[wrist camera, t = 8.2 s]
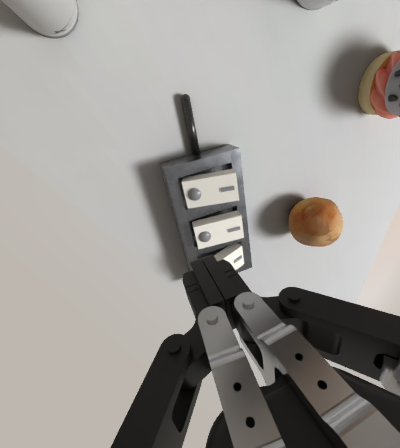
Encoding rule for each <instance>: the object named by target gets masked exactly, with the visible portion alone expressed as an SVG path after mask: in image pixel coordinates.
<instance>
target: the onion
mask: <svg viewBox="0 0 400 448" xmlns="http://www.w3.org/2000/svg"><path fill="white" fill-rule="evenodd" d="M288 225H289V230H290V232H291V234H292V235H293V237H294V238H295V239H296V240H297V241H298V242H300V243H302V244H304V245H308V246H319V247H320V246H327V245H330V244H332V243H333V242H335V241H336V240H337V239H338V238H339V236H340V235H341V232H342V229H343V218H342V215H341V213H340V211H339V209H338V206H337V205H336V204H335V203H334V202H333V201H331V200H329V199H323V198H318V197H313V198H308V199H305V200H302V201H300V202H299V203H297V204H296V205H295V206H294V207H293V209H292V210H291V212H290V215H289V222H288Z"/></svg>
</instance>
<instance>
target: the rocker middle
mask: <svg viewBox="0 0 400 448" xmlns="http://www.w3.org/2000/svg"><path fill="white" fill-rule="evenodd" d="M192 225H193V229H194V233H195V237H196V242H197V245H198V249H202V248H206V247H210V246H214V245H218V244H222V243H226V242H230V241H233V240H237V239H241V238H244V233H243V224H242V215H241V214H240V213H239V211H238V210H237V211H233V212H229V213H225V214H221V215H217V216H213V217H209V218H205V219H201V220H197V221H193V222H192Z"/></svg>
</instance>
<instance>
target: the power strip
mask: <svg viewBox="0 0 400 448" xmlns="http://www.w3.org/2000/svg"><path fill="white" fill-rule="evenodd" d="M181 100H182V105H183V110H184V114H185V119H186V124H187V129H188V134H189V139H190V144H191V149H192V155H188V156H185V157H181V158H177V159H174V160H170V161H167V162H163V163H159V164H160V167H161V171H162V174H163V178H164V182H165V185H166V189H167V192H168V196H169V199H170V203H171V207H172V210H173V214H174V217H175V221H176V224H177V228H178V232H179V235H180V239H181V242H182V246H183V249H184V253H185V256H186V260H187V264H188V267H189V271H191V269H190V265H189V263H190V262H192V261H195V260H198V259H201V258H203V257H206V256H209V255H211V254H213V255H216V254H217V253H219V252H220V251H221V250H223V249H224V248H226V247H227V246H229V245H231V244H234V243H238V244H240V245H242V249H243V257H244V264H243V265H242V266H241V267H239V268H238V269H237V270H236V271H237V273H238V272H241V271H243V270H246V269H248V268H251V267H252V262H251V253H250V243H249V233H248V224H247V214H246V205H245V195H244V186H243V176H242V166H241V157H240V148H238V147H235V146H232V145H230V144H228V145H224V146H221V147H217V148H213V149H210V150H206V151H203V152H200V150H199V144H198V139H197V134H196V129H195V123H194V118H193V113H192V107H191V102H190V97H189V95H187V94H184V95H182V98H181ZM229 169H235V171H236V177H237V185H238V194H239V201H233V202H227V203H220V204H214V205H208V206H201V207H195V208H189V209H188V207H187V203H186V199H185V194H184V190H183V186H182V179H183V177H189V176H195V175H200V174H206V173H212V172H218V171H223V170H229ZM237 210H238V211H239V213H240V214H241V215H242V224H243V233H244V238H241V239H237V240H233V241H230V242H226V243H222V244H218V245H214V246H210V247H206V248H202V249H198V245H197V242H196V237H195V233H194V229H193V225H192V222H193V221H197V220H201V219H205V218H209V217H213V216H217V215H221V214H225V213H229V212H233V211H237Z"/></svg>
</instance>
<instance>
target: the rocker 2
mask: <svg viewBox="0 0 400 448" xmlns="http://www.w3.org/2000/svg"><path fill="white" fill-rule="evenodd" d="M214 257H215V258H216V260H217V261H220V260H222V259H224V260H226V261H228V262H230V263H231V265H232V266H233V267H234V269H235V270H237V269H238V268H239V267H241V266H242V265H243V264H244V257H243V249H242V245H240V244H238V243H234V244H231V245H229V246H227V247H226V248H224V249H223V250H221V251H220V252H219V253H217V254H216V255H214Z"/></svg>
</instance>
